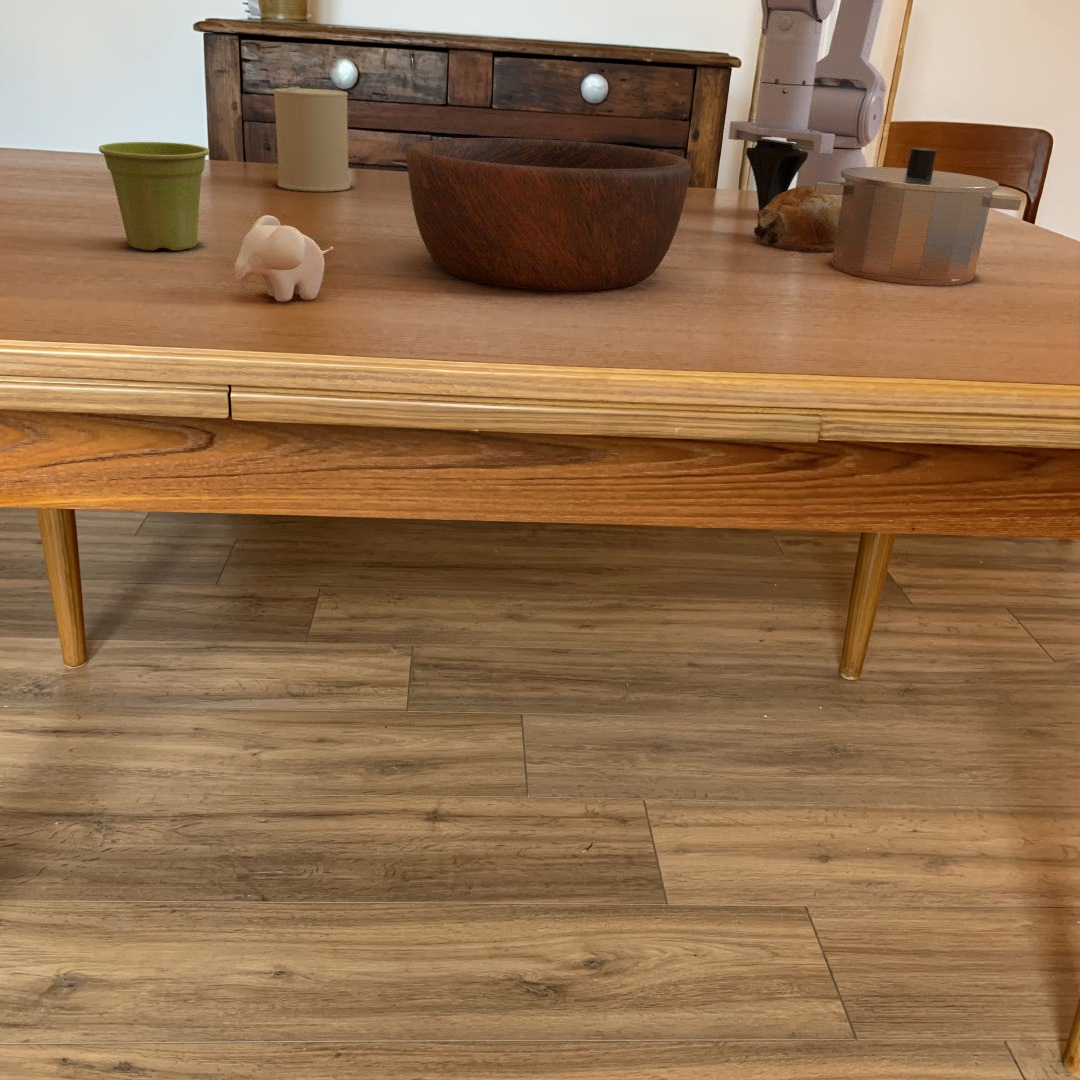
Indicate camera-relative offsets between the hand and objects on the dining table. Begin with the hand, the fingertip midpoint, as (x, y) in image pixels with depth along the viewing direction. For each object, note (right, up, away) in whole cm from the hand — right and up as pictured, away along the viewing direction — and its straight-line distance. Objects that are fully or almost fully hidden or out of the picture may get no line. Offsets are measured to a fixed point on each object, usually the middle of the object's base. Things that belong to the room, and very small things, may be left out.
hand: (768, 214), depth 123 cm
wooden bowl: (-26, -12, -23) cm, 36 cm away
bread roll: (+3, -4, -3) cm, 6 cm away
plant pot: (-61, -10, -21) cm, 65 cm away
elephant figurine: (-46, -18, -38) cm, 62 cm away
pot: (+10, -10, -14) cm, 20 cm away
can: (-55, +9, +18) cm, 59 cm away
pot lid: (+11, -2, -18) cm, 21 cm away
